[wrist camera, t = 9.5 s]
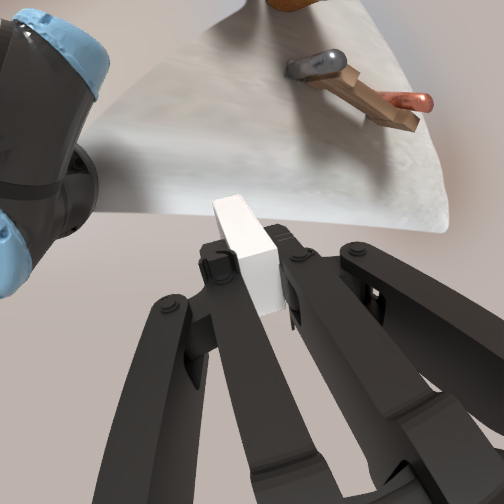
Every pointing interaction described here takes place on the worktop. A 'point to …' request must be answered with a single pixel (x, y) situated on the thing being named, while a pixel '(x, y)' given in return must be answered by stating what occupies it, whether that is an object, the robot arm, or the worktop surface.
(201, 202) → the worktop surface
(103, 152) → the worktop surface
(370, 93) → the gate
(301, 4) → the disposable coffee cup
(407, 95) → the gate posts
